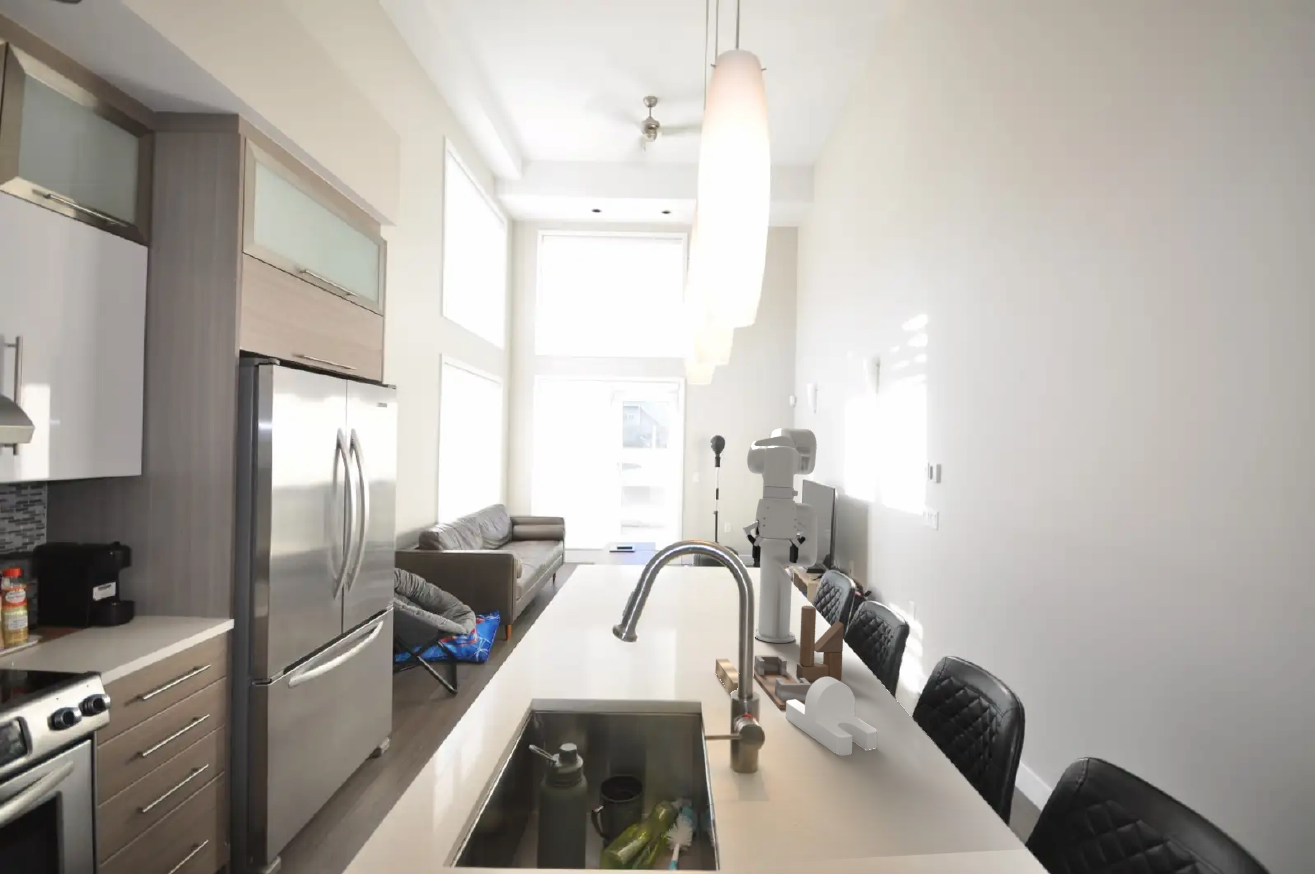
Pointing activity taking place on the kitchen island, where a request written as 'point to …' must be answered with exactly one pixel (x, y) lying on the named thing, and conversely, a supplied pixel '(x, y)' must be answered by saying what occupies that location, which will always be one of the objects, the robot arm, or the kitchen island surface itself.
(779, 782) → the kitchen island surface
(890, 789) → the kitchen island surface
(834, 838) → the kitchen island surface
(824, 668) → the wooden block
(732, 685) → the oak slat
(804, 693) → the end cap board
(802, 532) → the robot arm
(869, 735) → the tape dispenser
